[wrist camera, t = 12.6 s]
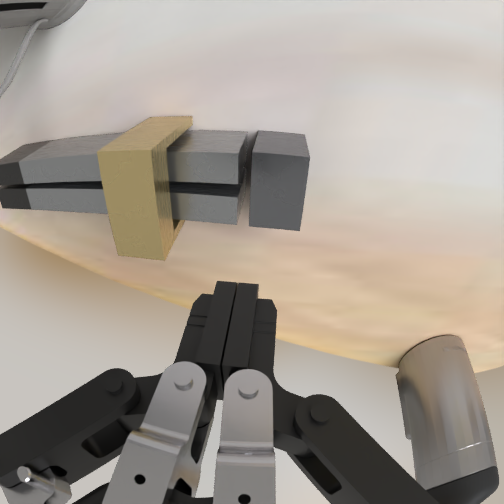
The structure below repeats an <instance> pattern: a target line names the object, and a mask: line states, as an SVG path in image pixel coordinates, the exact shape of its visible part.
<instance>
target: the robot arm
mask: <svg viewBox="0 0 504 504" xmlns="http://www.w3.org/2000/svg"><path fill="white" fill-rule="evenodd" d="M258 289H259V284H249V283H236V282H224V281H217V283H216V287H215V290H214V294H213V295H211V294H201V295H200V296H199V298H198V299H197V300H196V301H195V302H194V303H193V306H192V309H191V312H190V316H189V318H188V321H187V326H186V327H185V330H184V333H183V337H182V340H181V343H180V346H179V349H178V352H177V356H176V359H175V361H174V363H173V364H172V365H170V366H169V367H168V368H166V369H165V371H164V372H163V373H161V374H158V375H154V376H147V377H137V378H134V377H133V376H132V375H131V373H130V372H128V371H126V370H124V369H119V368H114V369H110V370H107V371H105V372H104V373H102V374H100V375H99V376H97V377H96V378H94V379H92V380H91V381H89V382H88V383H86V384H84V385H83V386H81V387H79V388H78V389H76V390H74V391H73V392H71V393H69V394H68V395H66V396H65V397H63V398H61V399H60V400H58V401H56V402H55V403H53V404H51V405H50V406H48V407H46V408H45V409H43V410H41V411H40V412H38V413H36V414H35V415H33V416H31V417H30V418H28V419H26V420H25V421H23V422H21V423H19V424H18V425H16V426H14V427H13V428H11V429H9V430H8V431H6V432H4V433H2V434H1V435H0V486H1V487H2V489H3V492H4V494H5V496H6V498H7V501H8V503H9V504H65V503H67V501H68V500H69V499H70V498H71V496H72V493H71V489H70V485H71V484H72V483H74V482H76V481H78V480H79V479H81V478H83V477H84V476H86V475H88V474H89V473H91V472H93V471H94V470H96V469H98V468H99V467H101V466H102V465H104V464H106V463H107V462H109V461H111V460H112V459H114V458H115V457H117V456H118V455H120V454H121V455H120V457H119V460H118V462H117V465H116V467H115V470H114V473H113V475H112V478H111V481H110V482H109V483H106V484H104V485H102V486H100V487H98V488H96V489H95V490H93V491H92V492H90V493H89V494H87V495H85V496H84V497H82V498H81V499H79V500H77V501H76V502H74V503H72V504H276V498H275V453H274V449H273V447H275V448H278V449H281V450H283V451H286V452H287V454H288V455H289V456H290V457H291V459H292V460H293V461H294V462H295V463H296V465H297V466H298V467H299V468H300V469H301V471H302V472H303V473H304V474H305V475H306V476H307V478H308V479H309V480H310V481H311V482H312V483H313V484H314V486H315V487H316V488H317V489H318V490H319V491H320V492H321V493H322V494H323V496H324V497H325V498H326V499H327V500H328V501H329V502H330V503H331V504H480V503H481V502H483V501H484V500H485V499H486V498H487V497H489V496H490V495H491V494H492V493H494V491H495V490H496V489H497V488H498V485H499V475H498V469H497V467H496V466H497V463H496V458H495V452H494V447H493V442H492V438H491V433H490V429H489V425H488V420H487V416H486V412H485V408H484V405H483V401H482V397H481V394H480V391H479V387H478V384H477V381H476V377H475V374H474V371H473V368H472V365H471V362H470V359H469V356H468V354H467V351H466V348H465V345H464V343H463V341H462V339H461V338H459V337H457V336H452V335H446V336H440V337H436V338H433V339H430V340H427V341H425V342H423V343H421V344H419V345H418V346H416V347H414V348H413V349H412V350H410V351H409V352H408V353H407V354H406V355H405V356H404V357H403V358H402V360H401V361H400V364H399V372H398V373H397V374H396V379H397V385H398V390H399V396H400V401H401V407H402V413H403V420H404V427H405V435H406V438H407V439H411V442H412V449H413V458H414V468H415V477H416V481H415V480H414V479H413V478H412V477H411V476H410V475H409V474H408V473H407V472H406V471H405V470H404V469H403V468H402V467H401V466H400V465H399V464H398V463H397V462H396V461H395V460H394V459H393V458H392V457H391V456H390V455H389V454H388V453H387V452H386V451H385V450H384V449H383V448H382V447H381V446H380V445H379V444H378V443H377V442H376V441H375V440H374V439H373V438H372V437H371V436H370V435H369V434H368V433H367V432H366V431H365V430H364V429H363V428H362V427H361V426H360V425H359V424H358V423H357V422H356V420H355V419H354V418H353V417H352V416H351V415H349V413H348V412H347V411H346V410H345V409H344V408H343V407H342V406H341V405H340V404H339V403H338V402H337V401H336V400H335V399H333V398H332V397H329V396H327V395H321V394H316V395H311V396H308V397H306V398H303V397H301V396H298V395H295V394H293V393H290V392H288V391H286V390H284V389H283V388H282V387H281V386H280V385H279V384H278V383H277V381H276V380H275V377H274V373H273V366H274V350H275V335H276V319H277V310H276V308H275V305H274V303H273V301H272V300H270V299H258ZM217 400H223V411H222V423H221V435H220V446H219V449H218V452H217V459H216V470H215V483H214V484H215V485H214V496H213V497H209V498H195V495H196V491H197V488H198V483H199V480H200V473H201V462H202V459H203V455H204V452H205V448H206V445H207V441H208V437H209V434H210V430H211V427H212V423H213V419H214V412H215V406H216V401H217Z"/></svg>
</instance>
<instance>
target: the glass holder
mask: <svg viewBox="0 0 504 504" xmlns="http://www.w3.org/2000/svg"><path fill="white" fill-rule="evenodd" d="M86 1H87V0H0V29H4V28H11V27H18V26H27V25H29V26H31V27H30V29H29V30H28V32H27V34H26V35H25V37H24V39H23V41H22V43H21V46H20V48H19V50H18V52H17V55H16V57H15V59H14V62H13V64H12V66H11V68H10V70H9V72H8V74H7V76H6V78H5V80H4V82H3V83H2V85H1V86H0V97H1V96H2V94H3V93H4V92H5V91H6V89H7V88H8V87H9V85H10V84H11V82H12V80H13V78H14V76H15V74H16V71H17V69H18V67H19V65H20V62H21V60H22V58H23V56H24V54H25V52H26V49H27V47H28V45H29V42H30V40H31V38H32V36H33V34H34V32H35V30H36V29H48V28H52V27H55V26H57V25H60V24H62V23H63V22H65V21H66V20H68V19H69V18H70V17H71V16H73V15H74V14H75V13H76V12H77V11H78V10H79V9H80V8H81V7H82V6H83V4H84V3H85V2H86Z"/></svg>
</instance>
